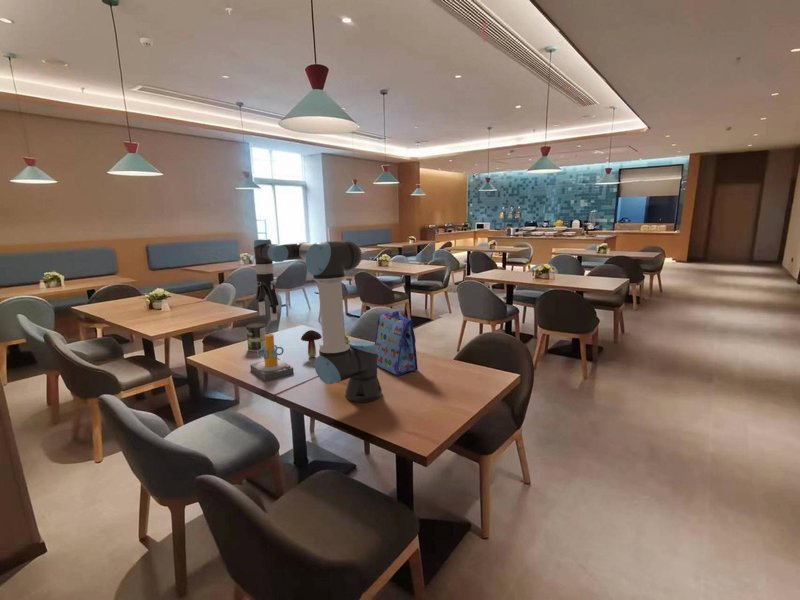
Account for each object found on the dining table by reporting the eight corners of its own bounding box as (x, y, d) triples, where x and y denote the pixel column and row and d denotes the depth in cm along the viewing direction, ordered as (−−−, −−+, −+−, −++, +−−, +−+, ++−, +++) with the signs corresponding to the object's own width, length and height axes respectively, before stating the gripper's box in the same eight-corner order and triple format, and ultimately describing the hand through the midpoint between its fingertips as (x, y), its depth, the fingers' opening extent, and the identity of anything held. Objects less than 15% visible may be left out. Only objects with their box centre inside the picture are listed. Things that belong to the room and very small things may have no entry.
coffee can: (252, 353, 221) (250, 328, 218) (245, 348, 228) (243, 324, 225) (270, 348, 227) (268, 325, 225) (262, 344, 235) (260, 321, 232)
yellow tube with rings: (275, 370, 186) (272, 339, 183) (254, 368, 188) (252, 338, 185) (287, 361, 198) (285, 332, 195) (268, 359, 200) (265, 330, 197)
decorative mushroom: (301, 361, 207) (300, 333, 204) (301, 354, 218) (300, 328, 215) (323, 359, 210) (322, 332, 207) (322, 353, 220) (321, 326, 217)
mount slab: (293, 373, 191) (293, 366, 191) (265, 381, 182) (264, 373, 182) (277, 363, 205) (277, 356, 204) (250, 370, 196) (250, 363, 195)
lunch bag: (418, 370, 195) (418, 313, 189) (396, 377, 187) (395, 317, 181) (392, 358, 212) (392, 305, 206) (370, 364, 204) (369, 309, 198)
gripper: (284, 274, 177) (287, 321, 181) (262, 269, 195) (265, 311, 200) (267, 276, 172) (271, 323, 176) (246, 271, 191) (250, 314, 195)
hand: (268, 317), depth 188 cm, fingers open, 13 cm apart
